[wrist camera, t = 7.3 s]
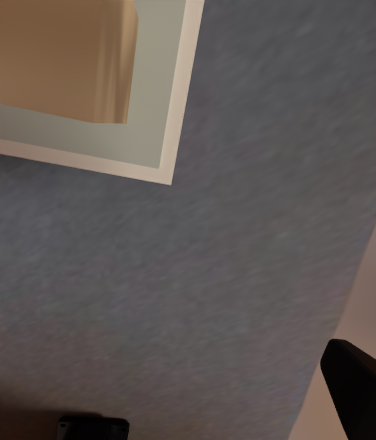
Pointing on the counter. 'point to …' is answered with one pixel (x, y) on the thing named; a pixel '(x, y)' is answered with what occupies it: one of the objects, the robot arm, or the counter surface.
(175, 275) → the counter surface
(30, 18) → the oak block
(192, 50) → the tile base
